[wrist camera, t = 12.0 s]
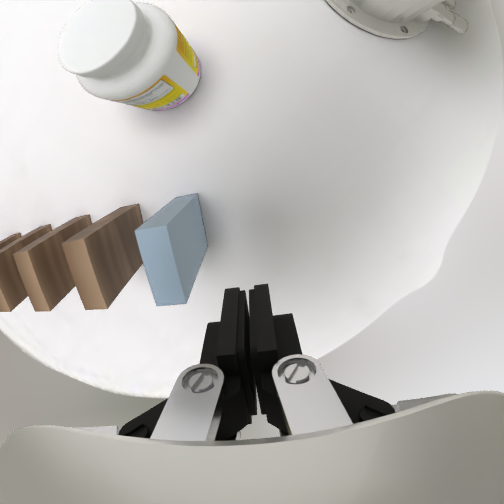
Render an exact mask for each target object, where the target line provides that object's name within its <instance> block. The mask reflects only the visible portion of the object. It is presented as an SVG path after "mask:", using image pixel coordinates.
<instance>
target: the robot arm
mask: <svg viewBox="0 0 504 504" xmlns="http://www.w3.org/2000/svg"><path fill="white" fill-rule="evenodd" d="M326 1H327V2H328V3H329V5H330V6H331V7H332V8H333V9H334V10H336V11H337V12H338V13H339V14H340V15H341V16H342V17H344V18H345V19H347V20H348V21H350V22H351V23H352V24H354V25H356V26H358V27H360V28H361V29H363V30H366V31H368V32H370V33H373V34H375V35H379V36H382V37H385V38H392V39H406V38H410V37H414V36H415V35H417V34H419V33H421V32H422V31H424V30H425V29H426V28H427V26H428V25H429V23H430V20H431V19H433V20H434V21H436V22H440V21H442V22H444V23H446V24H447V25H448V26H449V27H451V28H453V29H454V30H456V31H457V32H459V33H465V32H466V31H467V28H468V23H467V21H466V20H464V19H463V18H461V17H460V16H458V15H456V14H455V13H453V12H450V11H449V10H447V9H446V8H445V6H447V7H448V8H450V9H453V8H455V5H456V2H455V0H326ZM349 12H350V13H349ZM249 315H250V317H249ZM256 388H257V393H258V398H259V403H260V408H261V413H262V414H266V415H267V421H268V423H270V424H272V425H273V426H275V427H277V428H278V429H279V431H280V436H281V437H273V438H262V439H250V440H240V439H241V432H240V430H241V429H243V428H244V427H245V426H246V425H248V424H251V423H252V418H251V415H257V399H256ZM0 504H504V393H501V392H498V391H476V392H467V393H463V394H445V395H440V396H433V397H427V398H420V399H412V400H404V401H398V403H397V405H390V404H389V403H387V402H385V401H384V400H381V399H378V398H376V397H373V396H370V395H367V394H365V393H362V392H360V391H357V390H355V389H352V388H349V387H347V386H345V385H342V384H339V383H337V382H335V381H332V380H330V379H328V377H327V375H326V374H325V372H324V370H323V368H322V366H321V364H320V363H319V362H318V361H317V360H316V359H314V358H313V357H311V356H307V355H302V351H301V347H300V343H299V339H298V335H297V331H296V327H295V323H294V319H293V315H292V313H290V314H283V315H275V316H273V315H272V308H271V301H270V294H269V287H268V284H262V285H254V289H251V290H249V311H248V305H247V299H246V293H245V290H243V291H240V288H239V287H238V288H229V289H225V293H224V300H223V307H222V314H221V321H220V322H211V323H208V325H207V329H206V334H205V339H204V344H203V349H202V354H201V359H200V364H198V365H194V366H191V367H189V368H187V369H186V370H184V371H183V372H182V373H181V374H180V376H179V377H178V379H177V381H176V383H175V385H174V387H173V390H172V392H171V394H170V396H169V398H167V399H166V400H164V401H163V402H161V403H159V404H158V405H156V406H154V407H153V408H151V409H150V410H148V411H147V412H145V413H143V414H142V415H140V416H138V417H136V418H134V419H133V420H131V421H129V422H128V423H126V424H125V425H124V426H123V427H122V428H121V429H119V428H118V426H105V427H78V428H70V427H62V426H53V425H51V426H50V425H36V426H28V427H24V428H20V429H18V430H15V431H14V432H12V433H11V434H10V435H9V436H8V437H7V439H6V440H5V441H4V443H3V444H2V445H1V447H0Z"/></svg>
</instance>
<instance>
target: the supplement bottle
mask: <svg viewBox="0 0 504 504" xmlns="http://www.w3.org/2000/svg"><path fill="white" fill-rule="evenodd" d="M57 56H58V59H59V62H60V64H61V65H62V67H63V68H64V69H66V70H67V71H69V72H71V73H74V74H76V76H77V79H78V81H79V83H80V84H81V86H82V87H83V88H84V89H85V90H86V91H87V92H88V93H90V94H92V95H94V96H96V97H99V98H102V99H106V100H111V101H115V102H120V103H124V104H128V105H132V106H136V107H140V108H144V109H148V110H157V111H158V110H167V109H170V108H173V107H175V106H177V105H179V104H181V103H182V102H184V101H185V100H186V99H187V98H188V97H189V96H190V95H191V94H192V93H193V92H194V90H195V89H196V87H197V85H198V82H199V79H200V73H201V69H200V63H199V60H198V57H197V56H196V54H195V52H194V51H193V49H192V48H191V46H190V45H189V43H188V42H187V41H186V39H185V38H184V36H183V35H182V33H181V32H180V31H179V29H178V28H177V26H176V25H175V23H174V22H173V21H172V19H171V18H170V17H169V15H168V14H167V13H166V12H165V11H164V10H162V9H161V8H159V7H157V6H155V5H152V4H148V3H134V2H132V1H131V0H91V1H89V2H87V3H86V4H84V5H83V6H82V7H81V8H79V9H78V10H77V11H76V12H75V13H74V14H73V15H72V16H71V18H70V19H69V20H68V21H67V23H66V24H65V26H64V28H63V30H62V32H61V34H60V37H59V40H58V46H57Z"/></svg>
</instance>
